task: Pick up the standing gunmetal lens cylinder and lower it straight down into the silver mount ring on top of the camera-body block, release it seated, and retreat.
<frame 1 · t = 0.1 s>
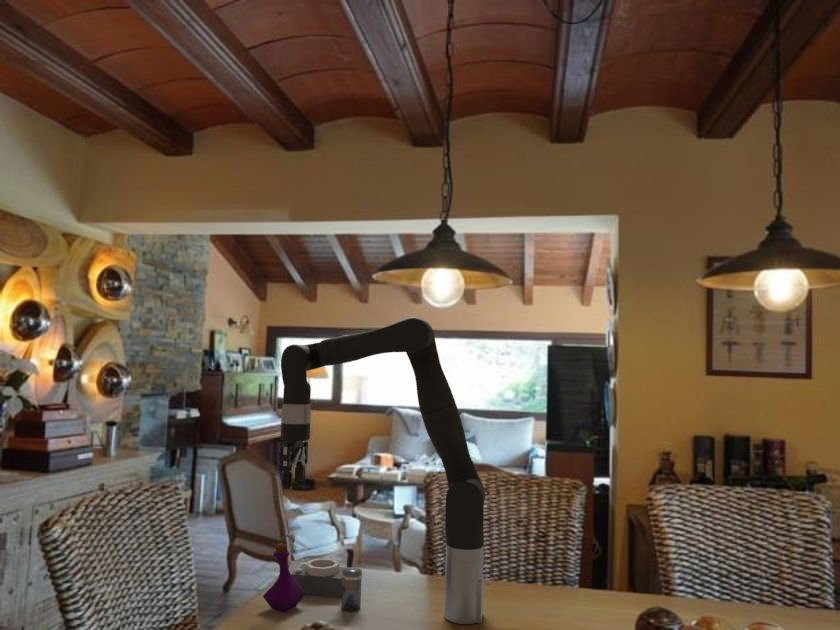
hand: (293, 484, 164), 29 cm above the table, fingers open, 8 cm apart
lens: (350, 608, 158), on the table
camera body: (321, 590, 170), on the table
perfume bottle: (283, 608, 157), on the table
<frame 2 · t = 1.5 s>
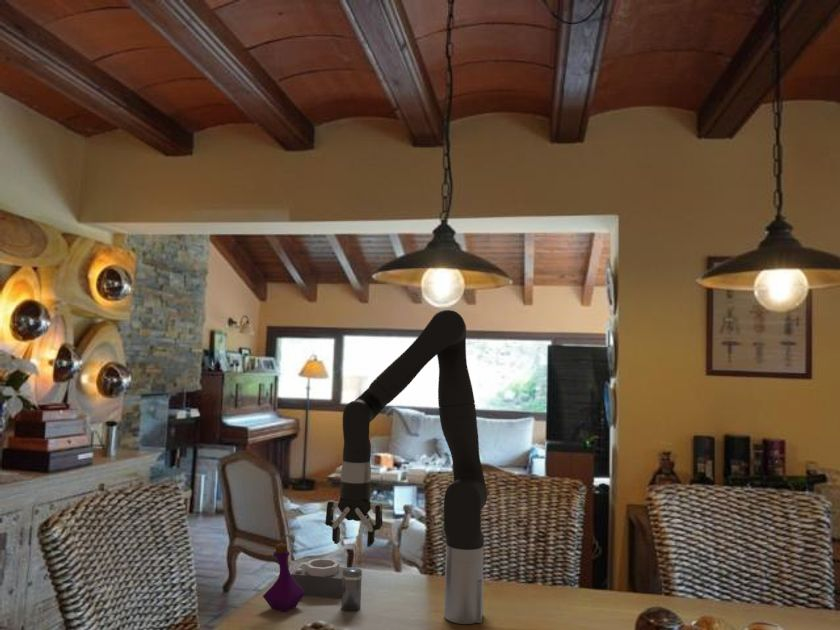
hand: (352, 544, 159), 15 cm above the table, fingers open, 8 cm apart
nothing on the table moved.
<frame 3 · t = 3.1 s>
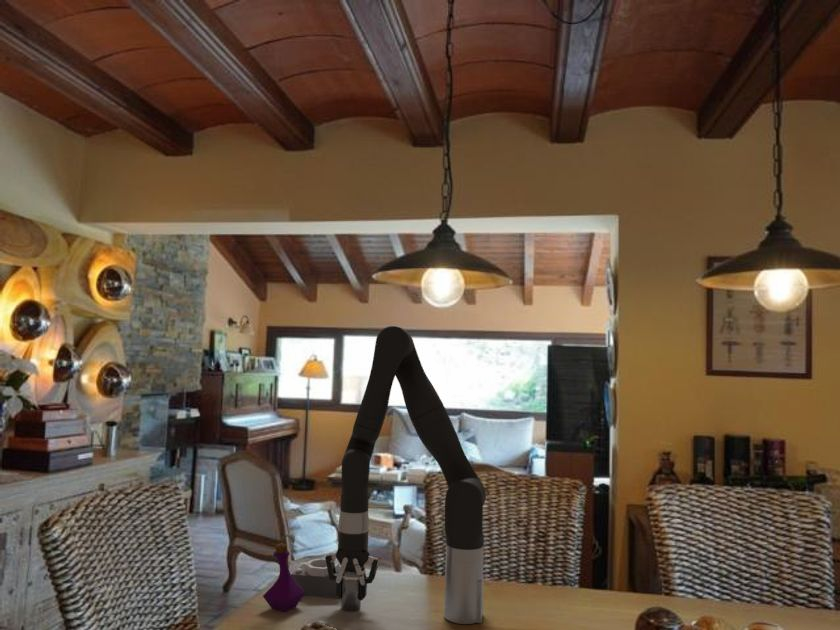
hand: (351, 598, 158), 2 cm above the table, fingers closed on lens, 4 cm apart
lens: (350, 608, 158), on the table, touching gripper
everything else where it was.
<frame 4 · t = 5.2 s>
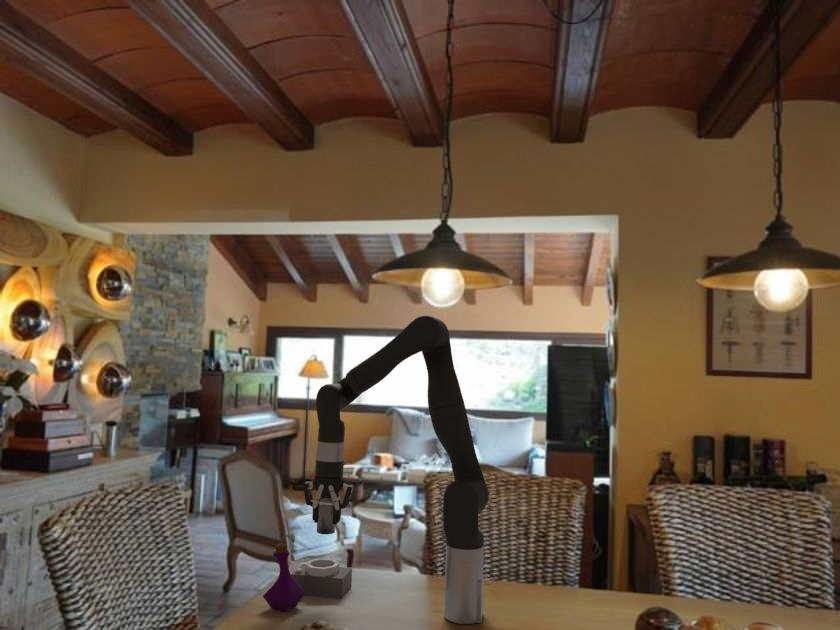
hand: (326, 522, 169), 18 cm above the table, fingers closed on lens, 4 cm apart
lens: (325, 531, 169), point 16 cm above the table, touching gripper
everything else where it was.
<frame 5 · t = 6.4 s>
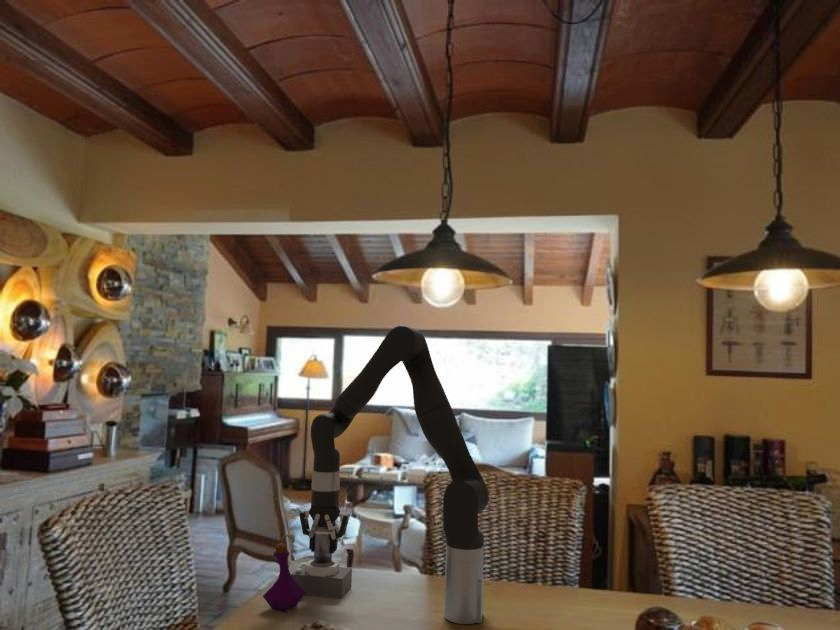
hand: (323, 551, 171), 10 cm above the table, fingers closed on lens, 4 cm apart
lens: (322, 560, 170), point 8 cm above the table, touching gripper
everything else where it was.
when the fingers open (8 cm above the table, at t = 7.1 s): lens stays where it is, resting on camera body.
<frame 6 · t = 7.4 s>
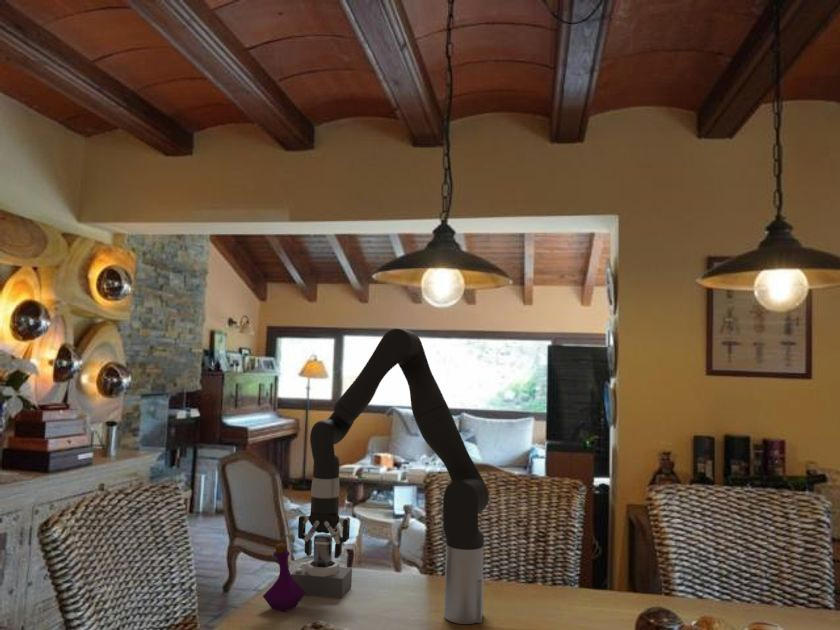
hand: (322, 556, 171), 9 cm above the table, fingers open, 7 cm apart
lens: (322, 570, 170), point 5 cm above the table, touching camera body
everything else where it was.
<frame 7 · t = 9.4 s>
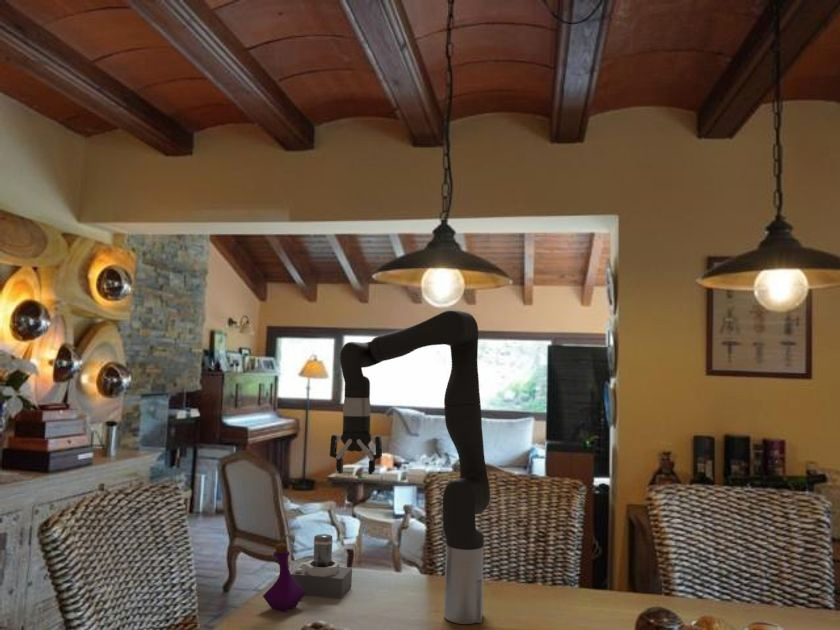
hand: (355, 473, 175), 31 cm above the table, fingers open, 8 cm apart
nothing on the table moved.
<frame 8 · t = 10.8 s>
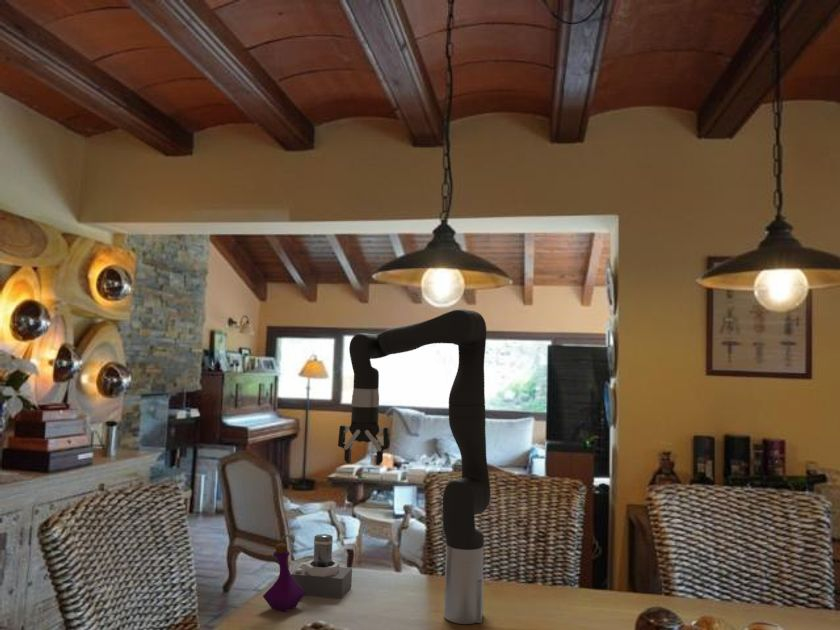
hand: (363, 463, 176), 33 cm above the table, fingers open, 8 cm apart
nothing on the table moved.
at the end: lens 0.0 cm off-centre on the camera body, point 5.0 cm above the camera body's base; lens tilted 1°; the gripper is holding nothing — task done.
